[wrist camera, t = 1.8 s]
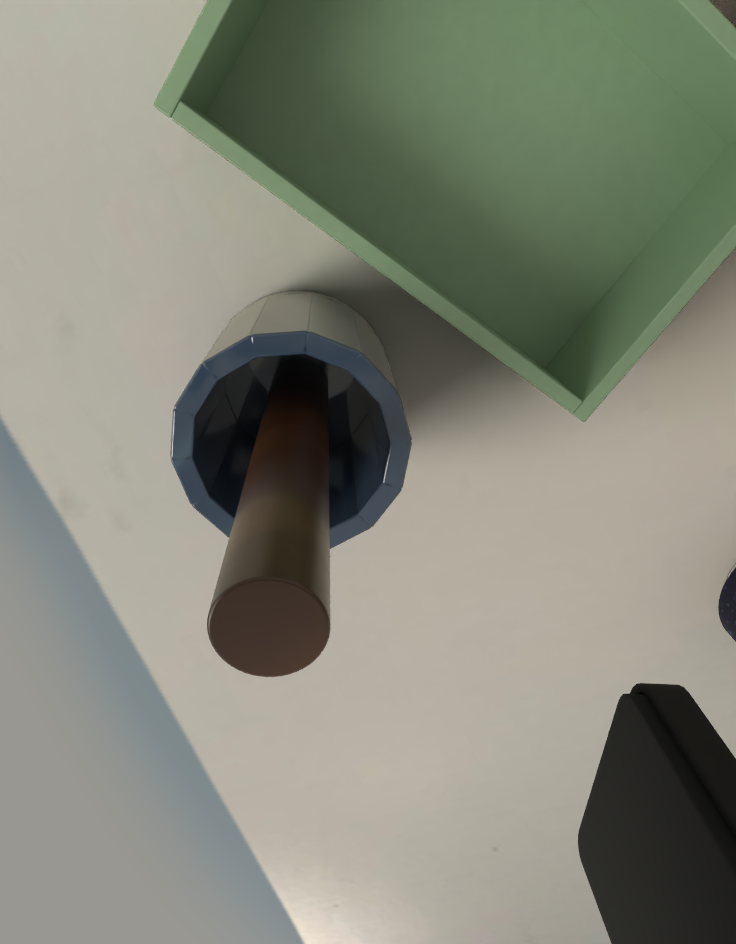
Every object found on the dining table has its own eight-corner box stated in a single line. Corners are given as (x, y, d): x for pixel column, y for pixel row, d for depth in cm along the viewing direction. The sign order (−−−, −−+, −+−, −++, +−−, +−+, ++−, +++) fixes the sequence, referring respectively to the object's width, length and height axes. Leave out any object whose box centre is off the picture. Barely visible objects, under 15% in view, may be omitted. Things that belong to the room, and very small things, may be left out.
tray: (186, 120, 21) (152, 105, 17) (372, -223, 18) (385, -344, 14) (542, 382, 25) (584, 422, 21) (740, 140, 22) (836, 131, 18)
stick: (261, 392, 24) (183, 645, 11) (291, 347, 23) (247, 556, 10) (308, 422, 24) (287, 695, 11) (339, 378, 24) (354, 614, 11)
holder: (179, 402, 24) (126, 481, 18) (274, 250, 22) (253, 278, 16) (323, 490, 26) (322, 590, 20) (423, 356, 24) (458, 419, 18)
